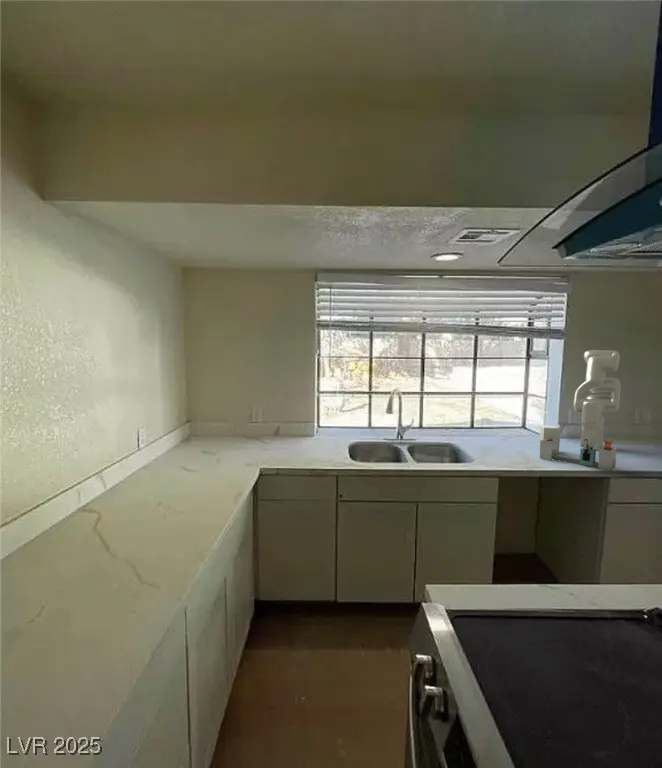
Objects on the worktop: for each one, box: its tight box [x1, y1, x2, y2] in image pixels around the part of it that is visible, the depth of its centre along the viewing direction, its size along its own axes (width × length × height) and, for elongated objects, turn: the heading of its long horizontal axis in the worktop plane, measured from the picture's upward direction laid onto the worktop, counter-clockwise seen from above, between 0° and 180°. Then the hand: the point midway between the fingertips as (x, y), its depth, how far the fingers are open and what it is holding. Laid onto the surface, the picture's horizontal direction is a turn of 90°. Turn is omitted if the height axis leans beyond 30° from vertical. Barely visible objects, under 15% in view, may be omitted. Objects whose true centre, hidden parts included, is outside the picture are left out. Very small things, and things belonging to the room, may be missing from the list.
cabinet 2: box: [597, 445, 617, 471], centre depth 236 cm, size 8×6×10 cm
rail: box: [553, 454, 598, 468], centre depth 246 cm, size 3×22×2 cm, turn 47°
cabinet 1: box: [539, 438, 557, 461], centre depth 255 cm, size 8×6×11 cm
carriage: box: [579, 447, 597, 467], centre depth 242 cm, size 5×6×8 cm
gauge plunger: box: [603, 439, 614, 450], centre depth 235 cm, size 4×4×5 cm
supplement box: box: [538, 424, 561, 455], centre depth 268 cm, size 9×9×15 cm
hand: (587, 459), depth 242 cm, fingers closed on carriage, 5 cm apart
